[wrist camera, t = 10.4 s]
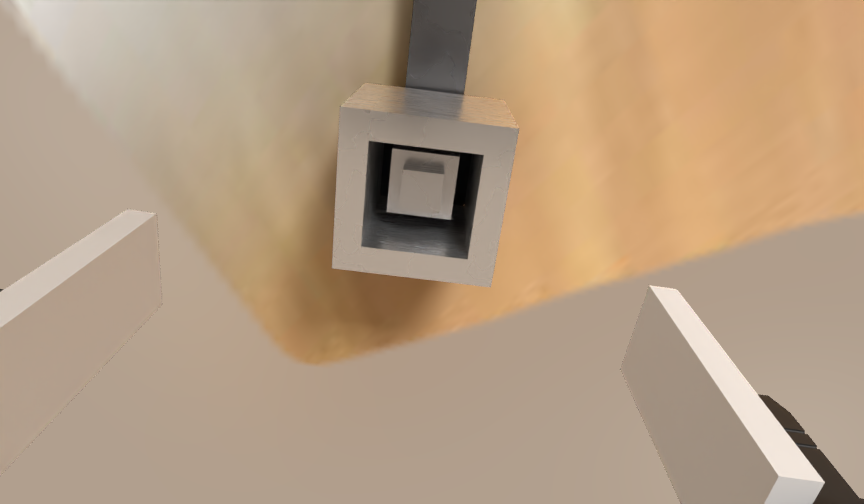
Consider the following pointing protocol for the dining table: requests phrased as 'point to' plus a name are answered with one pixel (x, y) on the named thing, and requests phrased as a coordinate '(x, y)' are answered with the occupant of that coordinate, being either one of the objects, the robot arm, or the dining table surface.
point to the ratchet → (443, 72)
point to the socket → (408, 234)
